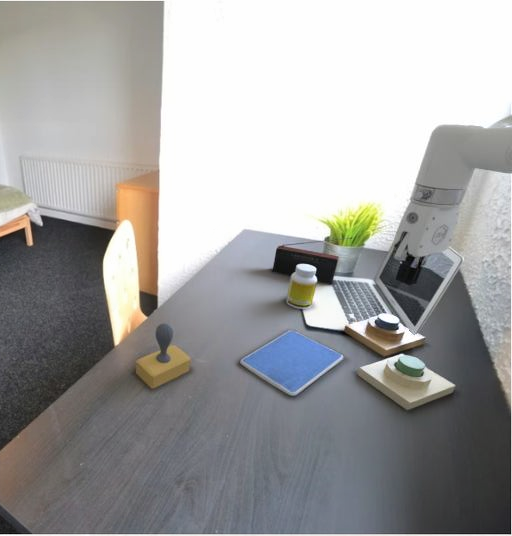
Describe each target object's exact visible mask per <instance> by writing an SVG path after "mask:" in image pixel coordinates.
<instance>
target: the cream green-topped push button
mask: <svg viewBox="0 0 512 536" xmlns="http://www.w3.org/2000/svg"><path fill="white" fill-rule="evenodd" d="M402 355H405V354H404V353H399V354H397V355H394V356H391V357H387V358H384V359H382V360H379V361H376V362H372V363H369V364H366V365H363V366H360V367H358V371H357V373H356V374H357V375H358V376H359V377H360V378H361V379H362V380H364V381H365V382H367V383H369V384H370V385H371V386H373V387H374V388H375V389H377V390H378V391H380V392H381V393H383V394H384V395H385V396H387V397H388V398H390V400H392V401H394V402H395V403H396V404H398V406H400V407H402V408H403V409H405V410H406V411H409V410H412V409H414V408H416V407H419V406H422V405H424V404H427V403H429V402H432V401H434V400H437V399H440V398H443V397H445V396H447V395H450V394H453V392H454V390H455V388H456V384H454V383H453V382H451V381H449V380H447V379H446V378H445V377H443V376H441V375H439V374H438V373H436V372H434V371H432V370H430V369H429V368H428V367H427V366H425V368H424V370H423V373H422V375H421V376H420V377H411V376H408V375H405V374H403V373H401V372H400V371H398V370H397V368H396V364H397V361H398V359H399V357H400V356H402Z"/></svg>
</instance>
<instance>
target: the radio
mask: <svg viewBox="0 0 512 536" xmlns="http://www.w3.org/2000/svg"><path fill="white" fill-rule="evenodd" d="M350 239H353V236H352V237H345V238H344V240H350ZM341 240H342V238H337V239H334V241H341ZM330 241H332V239H327V240H316V241H315V243H323V242H330ZM304 244H314V241H307V242H297V243H287V244H282V245H278V246H277V248H276V249H275V255H274V260H273V265H272V270H271V271H272V273H275V274H276V273H277V274H281V275H286V276H290V277H291V275H292V274H293V273H294V272H296V271H295V270H296V266H297V265H298V264H308V265H312V266H314V267H315V268H316V274H315V276H316V278H317V283H322V284H327V285H330V286H332V285H333V282H334V278H335V275H336V270H337V267H338V263H339V259H340V257H339V255H334V254H328V253H324V252H319V251H312V250H307V249H301V248H296V247H290V246H295V245H304Z"/></svg>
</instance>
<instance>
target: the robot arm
mask: <svg viewBox="0 0 512 536" xmlns="http://www.w3.org/2000/svg"><path fill="white" fill-rule="evenodd" d="M476 169H477V170H484V171H491V172H495V173H502V174H512V114H510V115H508V116H506V117H504V118H502V119H499V120H497V121H495V122H493V123H492V124H490V125H488V126H487V127H486V126H485V125H482V124H477V123H463V122H462V123H459V122H458V123H457V122H454V123H453V122H451V123H442V124H439V125H437V126H436V127H434V128H433V130H432V131H431V133H430V136H429V138H428V142H427V145H426V147H425V151H424V153H423V157H422V160H421V163H420V167H419V169H418V171H417V175H416V179H415V181H414V185H413V187H412V190H411V193H410V197H409V203H408V205H407V206H406V209H405V210H404V213H403V215H402V217H401V219H400V222H399V225H398V227H397V229H396V232H395V235H394V239H393V242H392V249H393V250H394V251H396V252H395V253H394V255H393V258H394V259H396V260H398V261H399V263H400V264H399V267H398V270H397V273H396V276H395V280H396V281H398V282H400V283H402V284H405V285H408V286H412V285H417V283H418V282H419V281H418V280H419V278H420V276H421V273H422V270H423V268H424V266H425V265H426V263H427V262H428V259H429V257H430V256H432V255H436V254H439V253H443V252H445V251H447V250H448V249H449V247H450V245H451V242H452V239H453V236H454V233H455V231H456V227H457V224H458V221H459V216H460V213H461V212H460V211H461V205H462V203H463V200H464V199H465V194H466V193H467V190H468V187H469V185H470V182H471V179H472V178H473V175H474V172H475V170H476Z"/></svg>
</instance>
